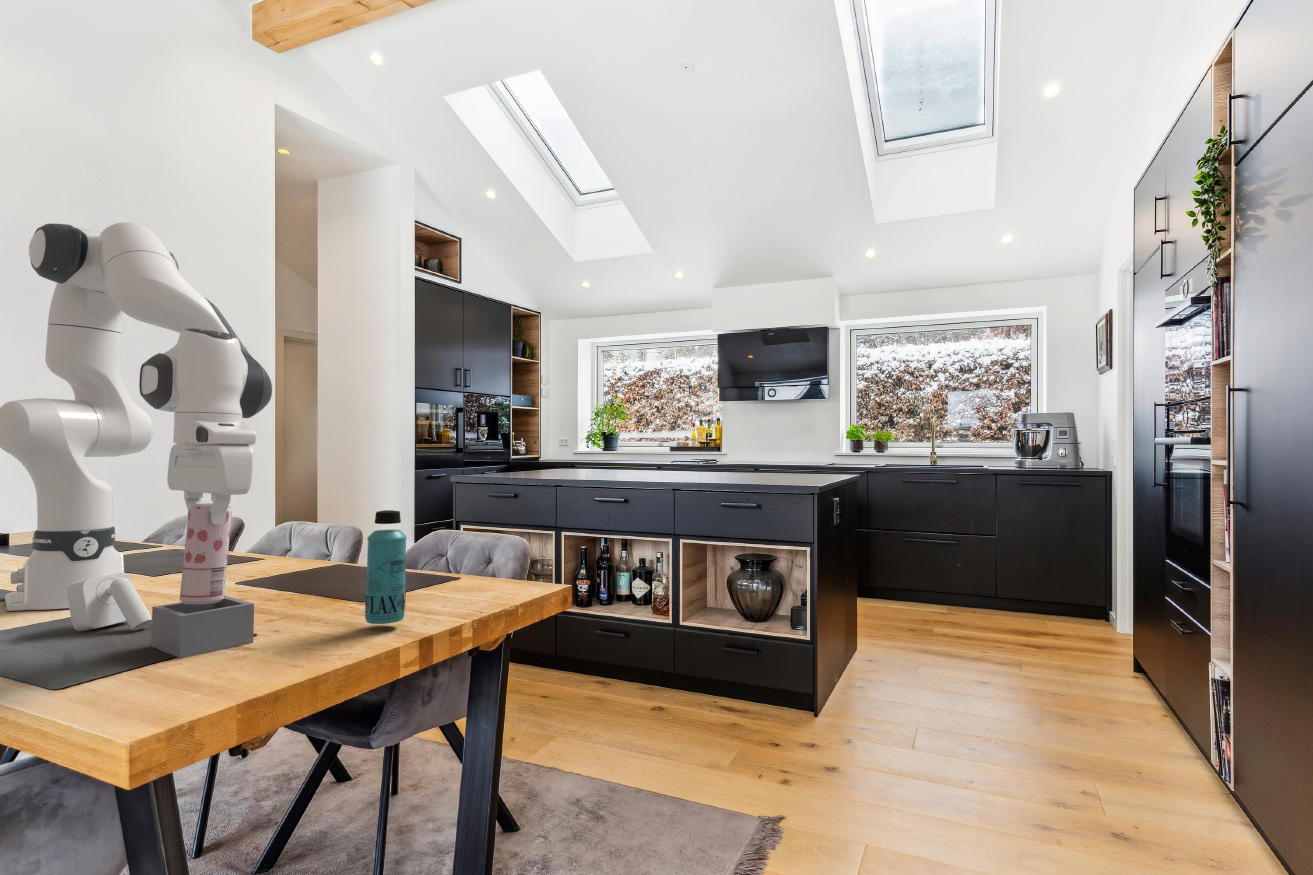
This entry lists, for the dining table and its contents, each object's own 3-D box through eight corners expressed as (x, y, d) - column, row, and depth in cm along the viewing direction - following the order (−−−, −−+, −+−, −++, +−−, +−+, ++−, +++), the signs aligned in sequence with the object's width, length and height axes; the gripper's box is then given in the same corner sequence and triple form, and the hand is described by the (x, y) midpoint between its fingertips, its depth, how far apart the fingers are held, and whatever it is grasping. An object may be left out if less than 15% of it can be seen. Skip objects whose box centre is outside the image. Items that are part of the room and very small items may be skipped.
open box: (151, 646, 102) (152, 606, 102) (223, 631, 110) (224, 595, 110) (179, 658, 96) (181, 616, 96) (253, 642, 104) (254, 603, 105)
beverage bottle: (355, 632, 111) (358, 511, 111) (377, 622, 117) (380, 508, 118) (392, 634, 110) (395, 512, 110) (412, 624, 116) (415, 509, 117)
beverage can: (185, 598, 105) (194, 502, 106) (227, 597, 107) (236, 503, 108) (174, 604, 99) (184, 503, 100) (219, 604, 101) (228, 505, 103)
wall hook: (126, 633, 106) (115, 571, 107) (75, 644, 108) (65, 583, 109) (172, 621, 114) (162, 563, 115) (123, 631, 116) (114, 574, 117)
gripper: (156, 432, 107) (154, 519, 107) (216, 431, 96) (213, 528, 95) (200, 433, 112) (198, 516, 112) (262, 433, 101) (260, 524, 101)
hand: (206, 521), depth 104 cm, fingers closed on beverage can, 6 cm apart
